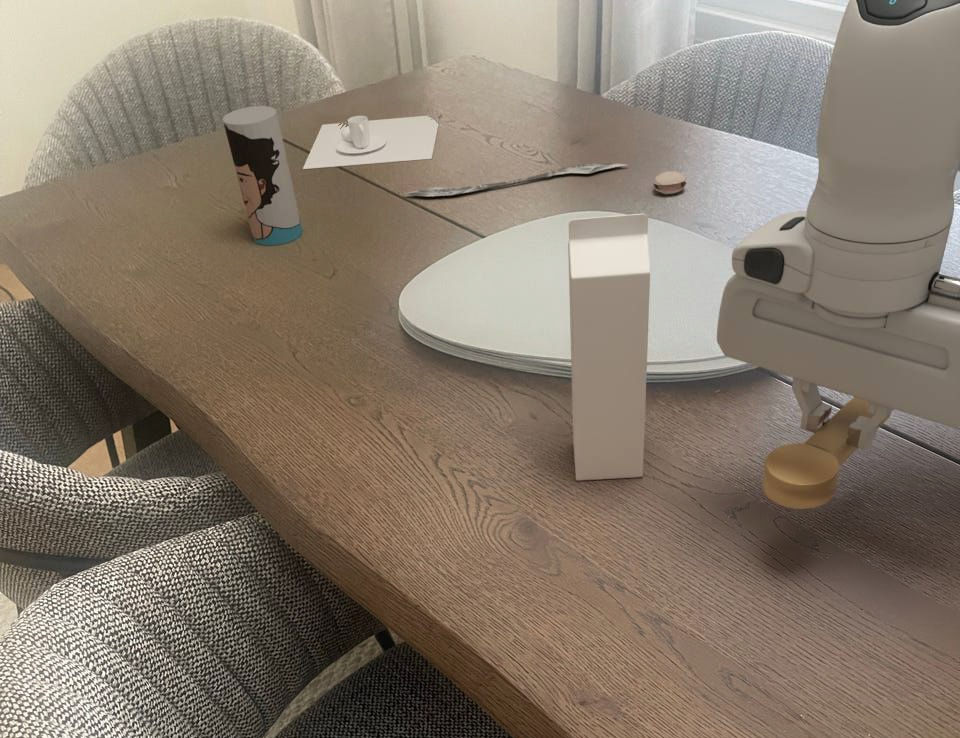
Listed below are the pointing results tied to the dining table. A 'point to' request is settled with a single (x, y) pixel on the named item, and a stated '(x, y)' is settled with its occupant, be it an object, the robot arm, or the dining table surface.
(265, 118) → the white tall cylinder
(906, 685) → the dining table surface
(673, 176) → the macaroon
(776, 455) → the spoon
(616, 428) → the milk
